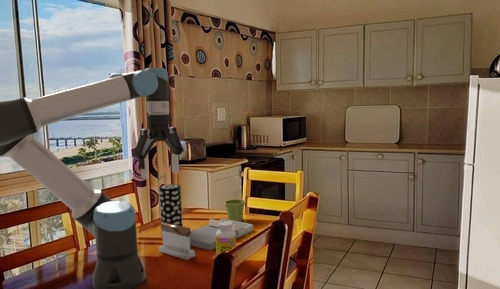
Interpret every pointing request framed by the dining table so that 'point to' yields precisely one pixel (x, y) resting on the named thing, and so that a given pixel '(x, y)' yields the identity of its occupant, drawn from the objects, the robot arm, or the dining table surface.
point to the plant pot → (235, 209)
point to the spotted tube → (171, 204)
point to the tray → (241, 231)
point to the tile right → (237, 227)
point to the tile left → (214, 222)
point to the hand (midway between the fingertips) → (160, 175)
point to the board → (205, 237)
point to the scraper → (176, 241)
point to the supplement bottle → (225, 237)
